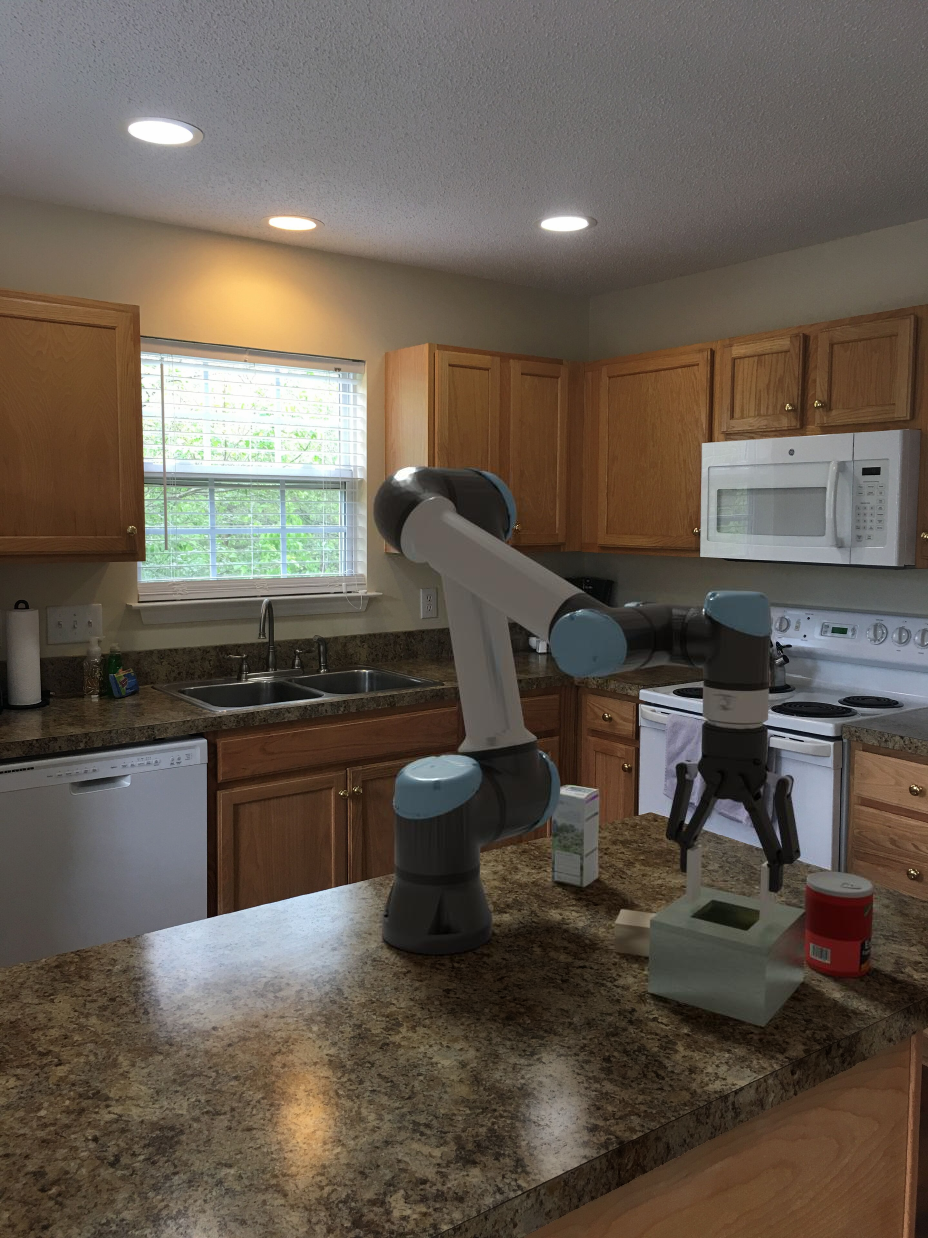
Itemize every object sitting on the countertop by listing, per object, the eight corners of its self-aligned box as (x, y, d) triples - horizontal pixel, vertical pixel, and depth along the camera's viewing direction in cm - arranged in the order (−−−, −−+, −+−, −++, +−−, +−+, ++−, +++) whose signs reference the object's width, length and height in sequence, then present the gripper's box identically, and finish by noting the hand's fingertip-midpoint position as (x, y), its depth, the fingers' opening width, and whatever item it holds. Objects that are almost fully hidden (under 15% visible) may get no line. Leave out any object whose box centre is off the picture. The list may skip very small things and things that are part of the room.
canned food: (875, 982, 123) (879, 895, 122) (807, 976, 124) (810, 890, 123) (863, 955, 130) (867, 873, 129) (799, 950, 132) (802, 869, 131)
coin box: (648, 992, 120) (650, 919, 119) (695, 952, 131) (697, 885, 130) (763, 1027, 111) (766, 949, 111) (803, 981, 123) (805, 910, 122)
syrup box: (599, 877, 158) (600, 788, 157) (583, 889, 153) (584, 796, 152) (566, 871, 161) (568, 782, 160) (549, 882, 156) (551, 791, 155)
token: (614, 952, 131) (614, 923, 131) (620, 938, 136) (621, 909, 135) (652, 958, 129) (653, 928, 129) (657, 943, 134) (658, 914, 134)
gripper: (638, 716, 121) (634, 897, 123) (816, 739, 109) (808, 940, 111) (664, 707, 127) (660, 880, 129) (836, 727, 115) (828, 918, 117)
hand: (729, 907), depth 120 cm, fingers open, 8 cm apart
